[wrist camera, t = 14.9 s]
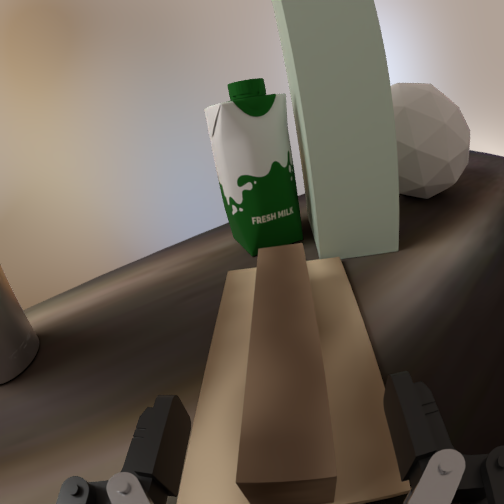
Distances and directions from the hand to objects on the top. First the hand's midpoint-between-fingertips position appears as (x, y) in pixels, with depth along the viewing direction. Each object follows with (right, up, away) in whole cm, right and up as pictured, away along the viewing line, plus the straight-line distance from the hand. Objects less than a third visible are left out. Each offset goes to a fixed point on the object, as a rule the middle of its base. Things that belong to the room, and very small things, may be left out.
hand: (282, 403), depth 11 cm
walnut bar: (+2, -2, +10) cm, 10 cm away
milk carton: (+1, +7, +31) cm, 32 cm away
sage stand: (+11, +8, +28) cm, 31 cm away
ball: (+27, +16, +37) cm, 49 cm away
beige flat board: (+2, -2, +12) cm, 12 cm away
